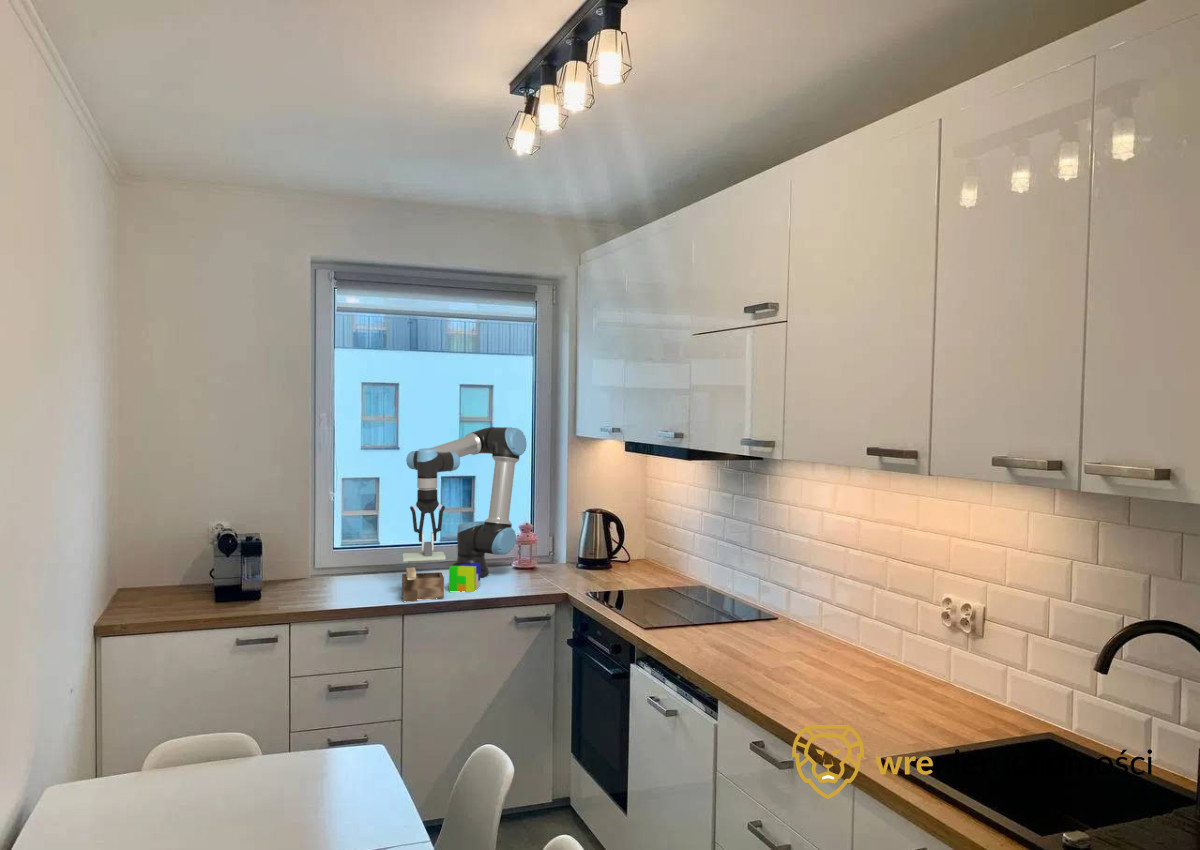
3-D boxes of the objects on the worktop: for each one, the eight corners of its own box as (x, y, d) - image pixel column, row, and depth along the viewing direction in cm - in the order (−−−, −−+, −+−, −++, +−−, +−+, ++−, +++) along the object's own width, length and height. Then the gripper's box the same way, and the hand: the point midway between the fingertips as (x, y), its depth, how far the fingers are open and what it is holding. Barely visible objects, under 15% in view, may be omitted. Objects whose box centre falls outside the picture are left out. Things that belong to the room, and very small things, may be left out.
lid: (443, 557, 335) (443, 540, 335) (445, 562, 325) (445, 544, 325) (402, 559, 331) (402, 542, 331) (403, 564, 321) (403, 546, 321)
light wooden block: (414, 575, 320) (414, 567, 320) (415, 579, 313) (415, 571, 312) (406, 575, 319) (406, 567, 319) (407, 580, 312) (407, 571, 312)
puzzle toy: (480, 588, 345) (480, 563, 345) (474, 593, 335) (474, 567, 335) (455, 587, 346) (456, 562, 346) (449, 592, 336) (449, 567, 336)
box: (441, 592, 335) (441, 569, 335) (444, 600, 322) (444, 575, 322) (402, 594, 331) (402, 570, 331) (403, 602, 318) (403, 577, 318)
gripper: (447, 487, 333) (447, 547, 334) (405, 488, 329) (405, 549, 330) (449, 489, 326) (449, 550, 327) (406, 490, 322) (406, 552, 322)
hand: (427, 549), depth 328 cm, fingers closed on lid, 3 cm apart
